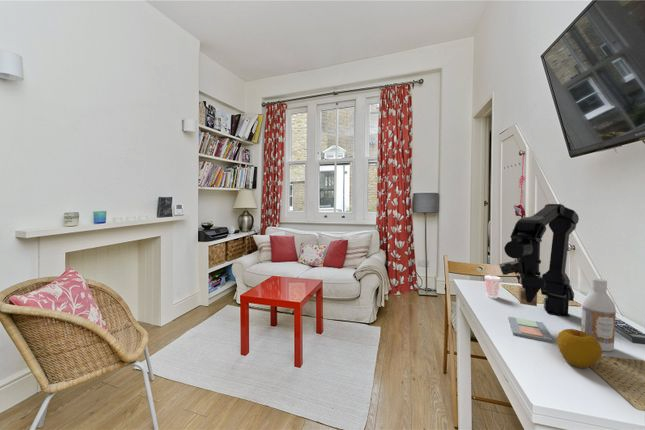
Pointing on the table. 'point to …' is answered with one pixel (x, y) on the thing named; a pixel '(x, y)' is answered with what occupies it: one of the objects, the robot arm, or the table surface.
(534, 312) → the table surface
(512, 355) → the table surface
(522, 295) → the walnut block
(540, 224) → the robot arm
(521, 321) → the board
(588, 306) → the bath foam
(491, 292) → the beverage cup
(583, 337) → the apple
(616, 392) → the table surface
